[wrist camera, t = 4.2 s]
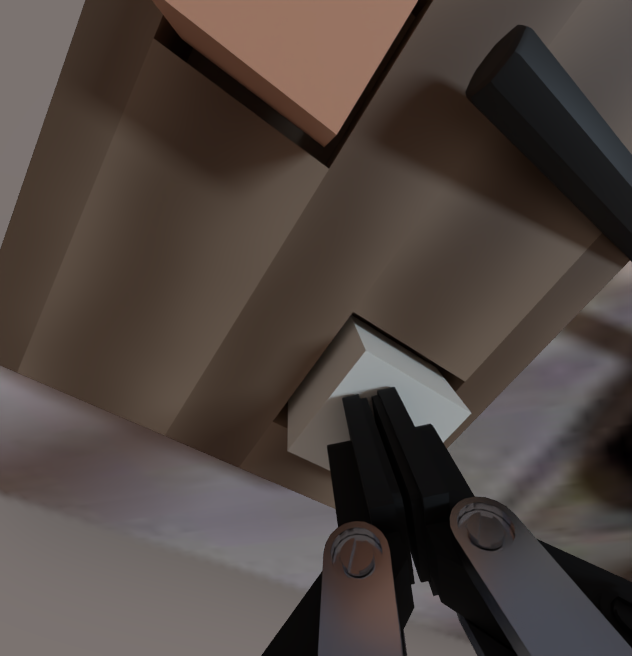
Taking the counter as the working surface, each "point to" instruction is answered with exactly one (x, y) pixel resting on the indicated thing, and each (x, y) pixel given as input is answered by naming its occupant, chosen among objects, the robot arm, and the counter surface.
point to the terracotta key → (294, 50)
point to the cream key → (365, 390)
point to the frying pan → (557, 130)
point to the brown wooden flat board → (294, 226)
